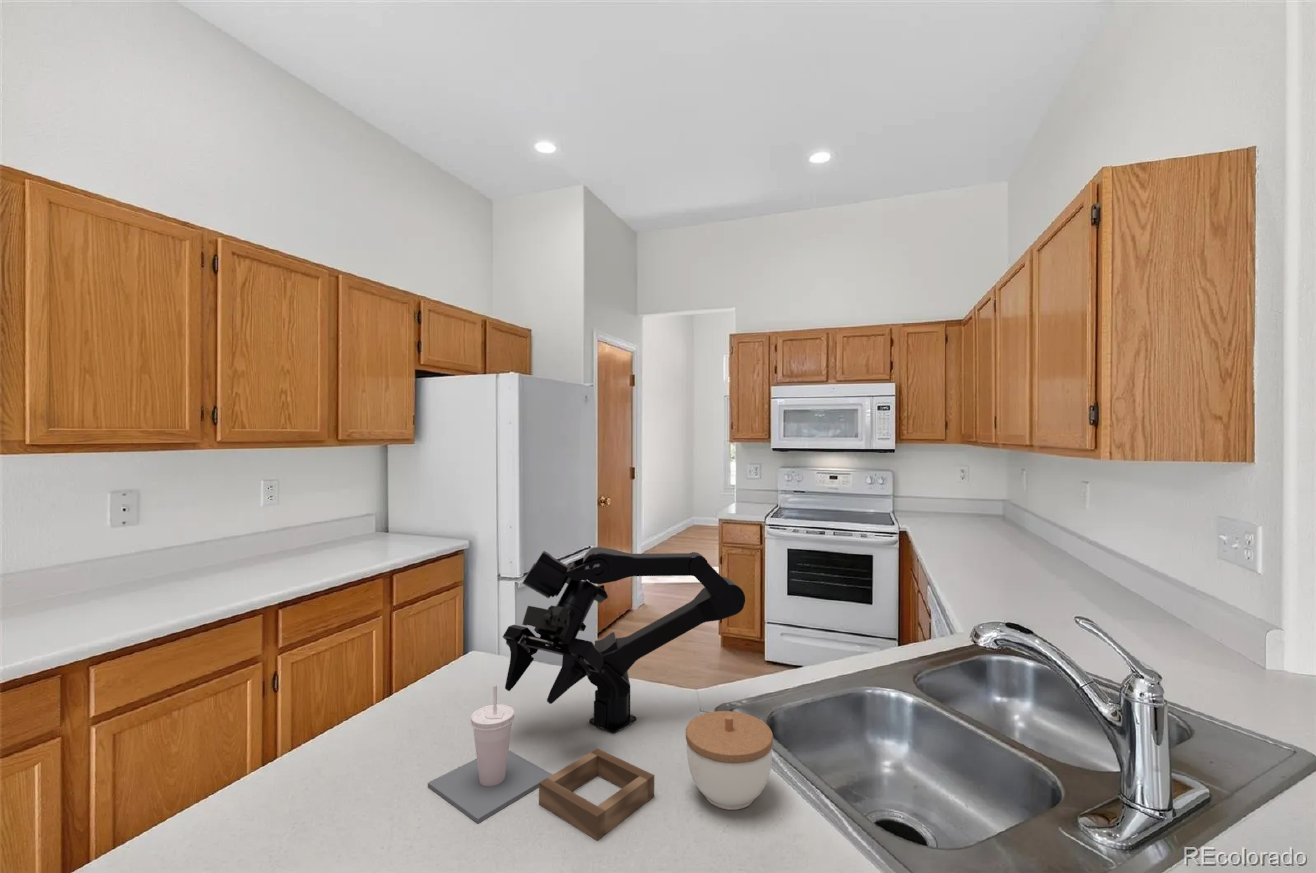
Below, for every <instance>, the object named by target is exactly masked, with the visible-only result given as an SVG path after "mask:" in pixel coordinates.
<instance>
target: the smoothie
mask: <svg viewBox="0 0 1316 873" xmlns="http://www.w3.org/2000/svg"><path fill="white" fill-rule="evenodd" d="M515 717H516V716H515V709H514V708H513V707H511V705H506V704H498V685H497V684H493V685H492V704H490V705H485V706H482V707H480V708H478V709H477V710H475V711H474V712H473V713H472V714H471V716H470V726H471V727H472V728H473V737H474V745H475V753H476V755H475V756H476V759H477V763H478V772H479V780H480V783H481V784H482V785H484V786H494V785H497V784H499V783H501V782H502V781H503V780H504V779H505V774H506V766H507V758H508V750H510V740H511V733H512V726H513V722H514V721H515Z"/></svg>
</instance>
